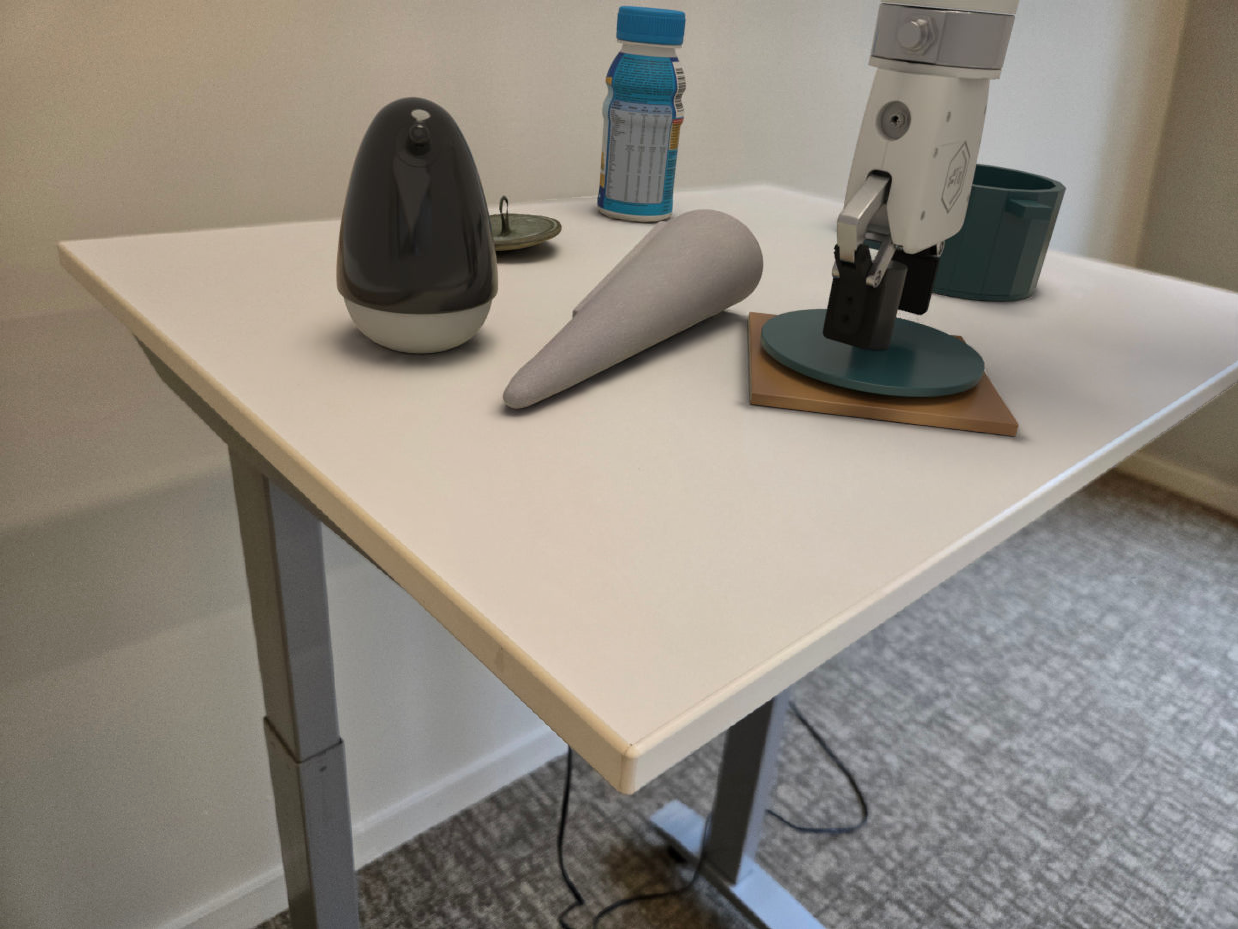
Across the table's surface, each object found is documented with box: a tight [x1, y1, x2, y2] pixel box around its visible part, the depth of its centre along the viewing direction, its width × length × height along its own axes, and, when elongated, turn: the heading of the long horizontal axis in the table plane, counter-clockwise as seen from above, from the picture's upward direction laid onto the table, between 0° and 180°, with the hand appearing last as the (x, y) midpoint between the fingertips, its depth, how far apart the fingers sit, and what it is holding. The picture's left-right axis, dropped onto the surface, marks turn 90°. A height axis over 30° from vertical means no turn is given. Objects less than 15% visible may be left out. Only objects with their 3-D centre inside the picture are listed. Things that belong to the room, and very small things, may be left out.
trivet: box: [747, 311, 1020, 437], centre depth 63 cm, size 16×16×1 cm
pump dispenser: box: [335, 96, 499, 355], centre depth 58 cm, size 10×10×15 cm
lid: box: [489, 195, 563, 252], centre depth 83 cm, size 11×10×5 cm
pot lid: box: [760, 259, 986, 397], centre depth 61 cm, size 15×15×7 cm
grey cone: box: [502, 208, 764, 409], centre depth 61 cm, size 8×9×26 cm
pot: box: [896, 163, 1067, 302], centre depth 85 cm, size 14×19×10 cm
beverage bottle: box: [596, 5, 687, 223], centre depth 95 cm, size 8×8×20 cm
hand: (876, 325), depth 61 cm, fingers open, 9 cm apart
